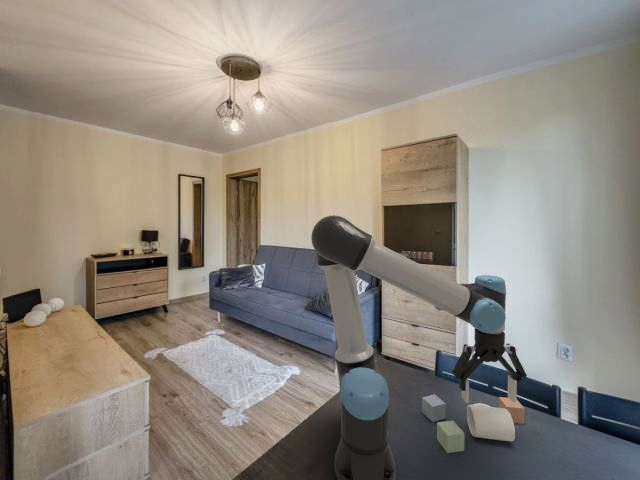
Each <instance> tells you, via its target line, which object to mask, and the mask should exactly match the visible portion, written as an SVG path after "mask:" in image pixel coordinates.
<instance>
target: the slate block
mask: <svg viewBox="0 0 640 480" xmlns="http://www.w3.org/2000/svg"><path fill="white" fill-rule="evenodd" d="M446 407H447V404H446V402H445V401H443V400H442V399H441V398H440V397H438V396H437V395H436V394H430V395H427V396H423V397H421V413H422V414H423V415H425V417H426V418H428V419H429V420H430V421H431V422H432V423H436V422H439V421H441V420H445V419H446V418H447V417H446V413H447V412H446V411H447V408H446Z"/></svg>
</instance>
